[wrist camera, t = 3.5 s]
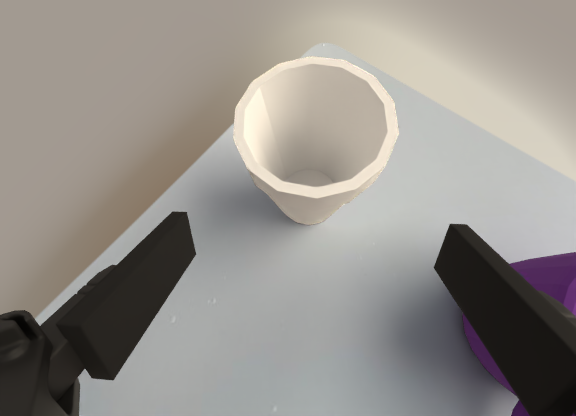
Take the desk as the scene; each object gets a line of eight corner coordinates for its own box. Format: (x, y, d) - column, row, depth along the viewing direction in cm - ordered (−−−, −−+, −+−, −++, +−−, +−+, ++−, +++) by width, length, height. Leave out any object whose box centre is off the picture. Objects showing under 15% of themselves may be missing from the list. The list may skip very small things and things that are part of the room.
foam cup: (331, 255, 24) (361, 227, 12) (250, 217, 26) (203, 158, 14) (365, 175, 27) (419, 83, 14) (288, 146, 28) (278, 39, 16)
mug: (465, 241, 24) (573, 214, 14) (595, 292, 22) (817, 300, 13) (415, 436, 20) (520, 579, 10) (569, 519, 18) (875, 792, 8)
